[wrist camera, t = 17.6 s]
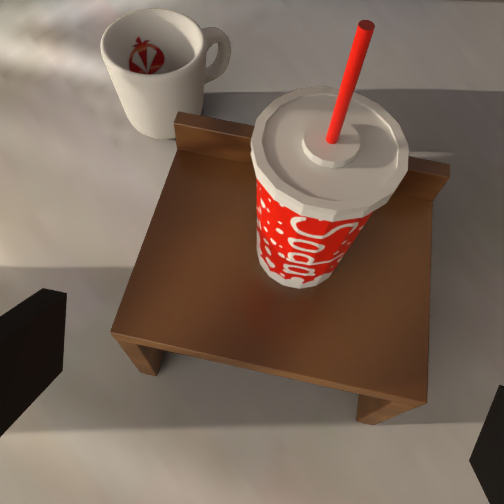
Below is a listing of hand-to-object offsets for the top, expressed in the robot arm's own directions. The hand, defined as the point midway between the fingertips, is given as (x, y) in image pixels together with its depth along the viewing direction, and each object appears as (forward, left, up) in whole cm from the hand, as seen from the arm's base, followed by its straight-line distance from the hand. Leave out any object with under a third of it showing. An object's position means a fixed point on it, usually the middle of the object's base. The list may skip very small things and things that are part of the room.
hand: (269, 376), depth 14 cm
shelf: (0, +9, -18) cm, 20 cm away
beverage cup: (+1, +9, -9) cm, 13 cm away
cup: (-12, +26, -18) cm, 33 cm away
